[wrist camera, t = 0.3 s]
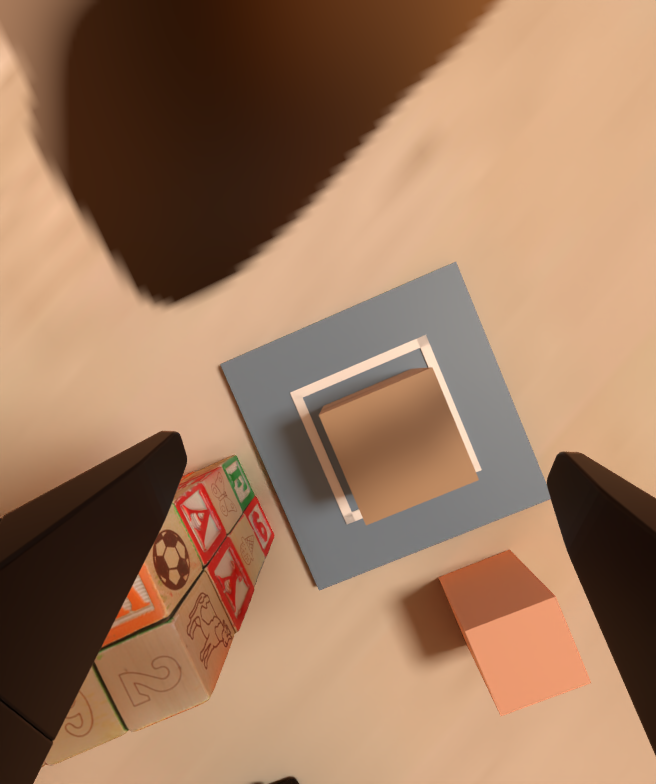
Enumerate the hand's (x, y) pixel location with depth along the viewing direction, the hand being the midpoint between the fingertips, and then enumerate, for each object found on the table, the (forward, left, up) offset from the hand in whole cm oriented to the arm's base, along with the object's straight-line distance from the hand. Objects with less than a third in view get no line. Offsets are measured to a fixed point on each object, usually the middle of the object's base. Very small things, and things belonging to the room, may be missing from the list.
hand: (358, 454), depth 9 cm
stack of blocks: (-4, +18, -15) cm, 24 cm away
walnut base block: (-3, -2, -14) cm, 14 cm away
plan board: (-3, -2, -14) cm, 15 cm away
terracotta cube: (-16, -4, -15) cm, 22 cm away
